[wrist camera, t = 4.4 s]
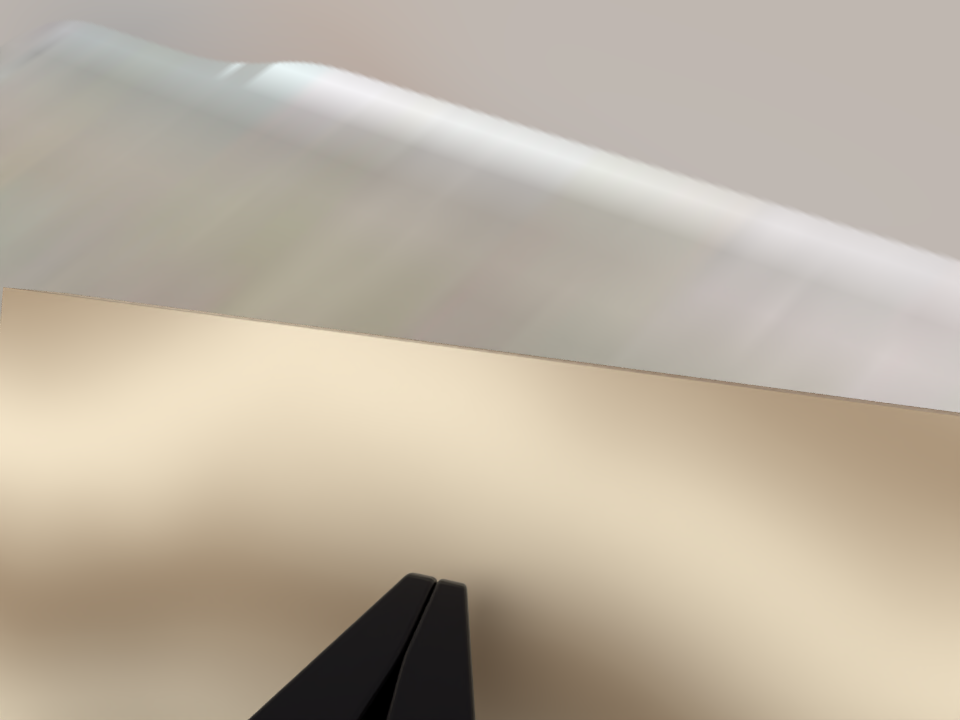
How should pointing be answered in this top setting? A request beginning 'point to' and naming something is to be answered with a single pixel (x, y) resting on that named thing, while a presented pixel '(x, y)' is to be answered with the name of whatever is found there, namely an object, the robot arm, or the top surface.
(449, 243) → the top surface
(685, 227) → the top surface
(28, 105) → the top surface
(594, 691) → the pale plank
